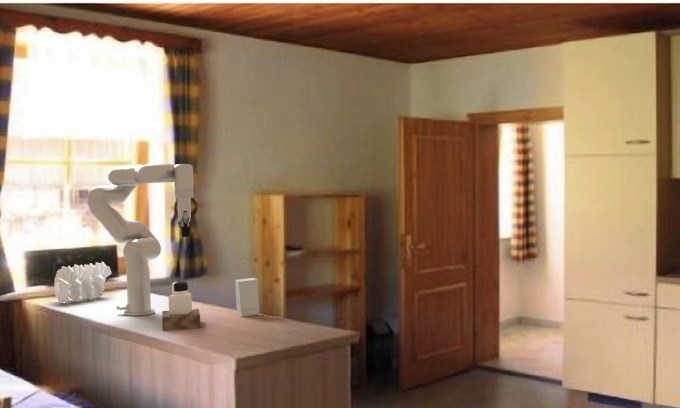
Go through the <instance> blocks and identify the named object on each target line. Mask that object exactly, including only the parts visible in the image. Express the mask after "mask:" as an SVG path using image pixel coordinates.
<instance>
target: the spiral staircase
mask: <svg viewBox="0 0 680 408" xmlns="http://www.w3.org/2000/svg"><path fill="white" fill-rule="evenodd" d="M73 265H74V266H72V267H71V266H70V265H68V266H61V268H60V269H58V270H57V271H56V274H55V277H54V279H53V280H54V285H53V292H54V296H55V297H56V298H57V300H58V302H59V301H60V302H61V303H62V302H65V303H66V302H69V301H70V300H71V301H73V300H74V301H73V302H75V301H76V302H77V301H79V300H80V299H81V298H82V300H87V299H89V300H90V298H92V297H96V298H97V299H100V297H102V296H104V293H103V292H104V290H105V288H106V287H105V286H104V283H106V279H107V277H109V276H110V275H112V270H111V267H110V266H109V265H106V264H105V262H104V261H101V262H100V263H99V262H95V264H93V263H89V264H84V265H83V264H80V265H78V264H73ZM80 297H81V298H80Z"/></svg>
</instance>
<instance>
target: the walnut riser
mask: <svg viewBox="0 0 680 408" xmlns="http://www.w3.org/2000/svg"><path fill="white" fill-rule="evenodd" d="M161 313H162V315H161V318H162V319H161V320H162V321H161V324H162V325H161V326H162V327H161V330H162V331H164V332H165V331H174V330H175V331H177V330H190V329H201V313H200V308H192V311H191V312H190V313H188V314H175V315H170V314H169V310H162V312H161Z"/></svg>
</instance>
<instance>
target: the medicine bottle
mask: <svg viewBox="0 0 680 408" xmlns="http://www.w3.org/2000/svg"><path fill="white" fill-rule="evenodd" d="M192 299H193V298H192V293H191V292H189V283H188V282H187V281H174V282H172V284H171V294H170V295H168V311H169V314H170V315H175V314H188V313H190V312H191V311H192V309H193V304H192V303H193V302H192Z"/></svg>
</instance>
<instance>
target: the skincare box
mask: <svg viewBox="0 0 680 408" xmlns="http://www.w3.org/2000/svg"><path fill="white" fill-rule="evenodd" d="M234 282H235V283H234V285H235V301H236V302H235V303H236V305H235V306H236V315H237V316H239V317H241V318H243V317H248V316H249V317H250V316H257V315H260V299H259V279H257V278H255V277H250V278H241V279H235V280H234Z"/></svg>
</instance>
